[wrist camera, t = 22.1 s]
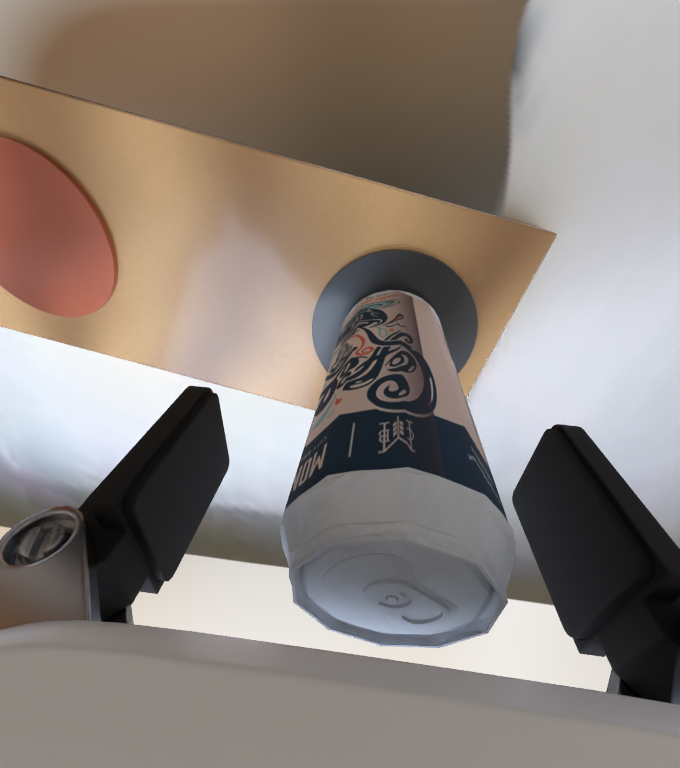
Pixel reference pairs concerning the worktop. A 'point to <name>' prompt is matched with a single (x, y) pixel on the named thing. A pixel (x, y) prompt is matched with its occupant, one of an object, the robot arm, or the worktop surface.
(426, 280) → the board
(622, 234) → the worktop surface
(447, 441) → the beer can
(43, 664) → the robot arm
